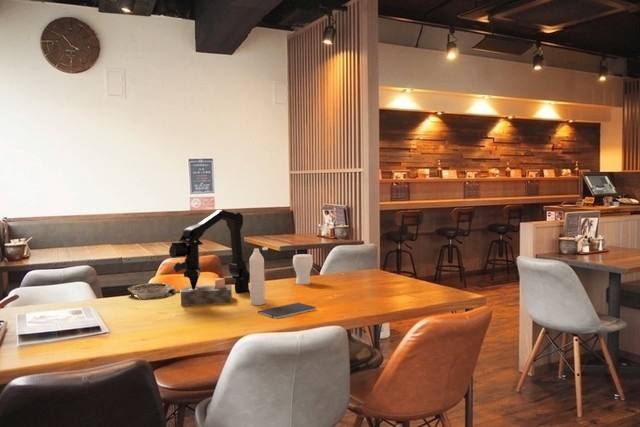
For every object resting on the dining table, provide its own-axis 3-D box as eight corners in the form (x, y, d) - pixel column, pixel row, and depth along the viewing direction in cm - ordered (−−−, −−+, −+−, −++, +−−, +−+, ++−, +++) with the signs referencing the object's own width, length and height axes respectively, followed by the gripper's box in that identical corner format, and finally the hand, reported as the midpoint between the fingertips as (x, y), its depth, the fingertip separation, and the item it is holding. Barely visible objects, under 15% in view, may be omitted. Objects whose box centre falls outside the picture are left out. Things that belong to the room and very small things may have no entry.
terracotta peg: (225, 290, 248) (224, 278, 248) (224, 292, 244) (224, 279, 243) (215, 290, 248) (215, 278, 247) (215, 292, 243) (214, 280, 243)
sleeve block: (231, 297, 253) (231, 284, 252) (231, 302, 241) (230, 289, 240) (184, 299, 250) (183, 286, 249) (181, 305, 238) (180, 292, 237)
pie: (117, 302, 247) (117, 292, 247) (123, 292, 273) (122, 282, 273) (180, 298, 254) (179, 287, 254) (179, 288, 281) (179, 278, 280)
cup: (290, 284, 280) (289, 256, 279) (297, 281, 290) (296, 253, 289) (309, 285, 277) (309, 257, 276) (315, 281, 287) (315, 254, 286)
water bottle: (254, 306, 233) (252, 249, 232) (248, 303, 239) (246, 248, 237) (272, 303, 238) (270, 248, 236) (265, 300, 244) (264, 246, 242)
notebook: (298, 305, 235) (258, 314, 221) (298, 302, 235) (258, 310, 221) (316, 310, 225) (276, 320, 212) (316, 307, 225) (275, 316, 211)
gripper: (176, 253, 251) (178, 285, 252) (171, 258, 233) (172, 294, 234) (201, 252, 253) (202, 284, 254) (197, 258, 234) (198, 293, 235)
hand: (193, 289), depth 244 cm, fingers closed, pressing on cream peg
